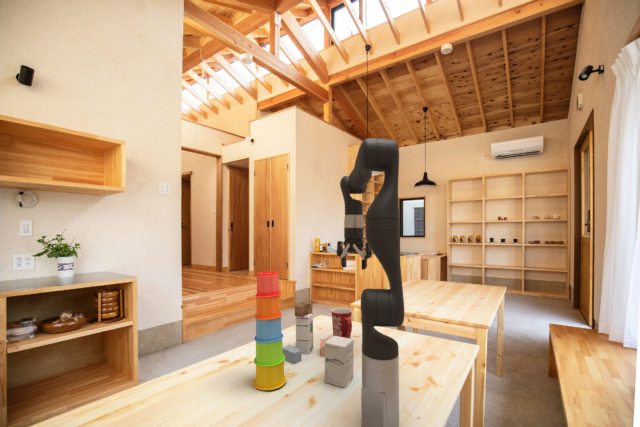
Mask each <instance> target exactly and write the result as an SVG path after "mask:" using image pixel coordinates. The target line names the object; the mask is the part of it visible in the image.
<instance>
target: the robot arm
mask: <svg viewBox="0 0 640 427" xmlns="http://www.w3.org/2000/svg"><path fill="white" fill-rule="evenodd" d="M356 154H357V155H356V158H355V162H354V167H353V169H352V171H351V172H350V174H349V175H345V176H343V177H341V179H340V182H339V187H340V191H341V194H342V196H343V201H344V202H343V203H344V219H343V222H344V223H343V238H344V241H343V240H338V241H337V244H336V257H340V262H341V263H340V266H341V267H342V268H344V269H345V268H347V262H348V261H347V256H348V255H349V254H351V253H354V254H358V256H360V258H361V270H362V271H363V270H366V269H367V267H368V260H369V259H371V258H372V257H373V254H374V256H375V257H376V259H377V260H378V261H379V263H380V265H381V267H382V269H383V271H384V273H385V275H386V276H387V280H388V283H389V289H388V288H365V289H363V290H362V292H361V293H360V294H361V295H360V316H361V317H360V318H361V319H360V320H361V338H362V339H361V394H360V397H361V398H360V399H361V402H360V403H361V413H360V414H361V427H400V374H399V373H400V370H399V367H400V365H399V364H400V363H399V362H400V361H399V358H400V357H399V354H400V353H399V352H400V351H399V350H400V349H399V348H400V347H399V343H398V342H397V341H396V340H395V339H394V338H393V337H390V336H388V335H387V334H383V333H382V332H380V331H378V330H377V329H376V328H375V327H386V328H387V327H388V328H400V327H402V326H403V324H404V321H405V300H404V299H405V298H404V290H403V288H404V287H403V279H402V277H403V276H402V269H401V268H402V267H401V222H400V207H399V174H400V171H399V168H400V148H399V145H398V142H397V140H394V139H385V138H373V137H371V138H365V139H363V141H362V142H361V143H360V145H359V148H358V151H357V153H356ZM373 172H383V173H384V178H383V183H382V186H381V188H380V190H379V192H378V193H377V195H376V196H375V197H374V199H373V201H372V202H371V204H370V206H369V207H368V209H367V211H366V213H365V218H364V217H363V216H364V215H363V214H364V212H363V211H364V209H363V204H364V203H363V201H362V200H359V199H355V198H353V197H352V196H351V195H362V194H364V193H366V191H367V190H368V189H367V188H368V183H369V182H370V181H371V179H372V175H373ZM364 220H365V224H364ZM364 225H365V227H364ZM364 229H365V231H364ZM364 232H365V240H366V242H365V241H364ZM344 247H345V248H344ZM363 247H364V248H365V250H364V248H363ZM343 248H344V249H343ZM372 252H373V253H372Z"/></svg>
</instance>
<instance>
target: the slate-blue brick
mask: <svg viewBox="0 0 640 427" xmlns="http://www.w3.org/2000/svg"><path fill="white" fill-rule="evenodd" d="M283 354H284V355H285V360H284V361H286V362H288V363H291V364H292V365H297V364H298V363H301V362H302V357H303V356H302V354H303V353H302V350H299V349H297V348H296V347H294V346H291V345H290V344H288V345H285V346H283Z"/></svg>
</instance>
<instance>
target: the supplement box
mask: <svg viewBox="0 0 640 427" xmlns="http://www.w3.org/2000/svg"><path fill="white" fill-rule="evenodd" d="M327 340H328V341H326V342H325V357H324V383H326V384H331V385H335V386H338V387H341V388H344V389H345V388H347V386H348V385H349V384H350V382H351V381H352V380H353V378H354V347H355V346H354V343H355V342H354V341H355V340H354V339H353V338H351V339H349V338H344V337H339V336H331V337H329V339H327Z"/></svg>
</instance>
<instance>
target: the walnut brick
mask: <svg viewBox="0 0 640 427" xmlns="http://www.w3.org/2000/svg"><path fill="white" fill-rule="evenodd" d="M311 313H313V302H311V301H303V302H300V303H297V304H295V305H294V316H295V317H296V316H299V317H303V316H306V315H308V314H311Z"/></svg>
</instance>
